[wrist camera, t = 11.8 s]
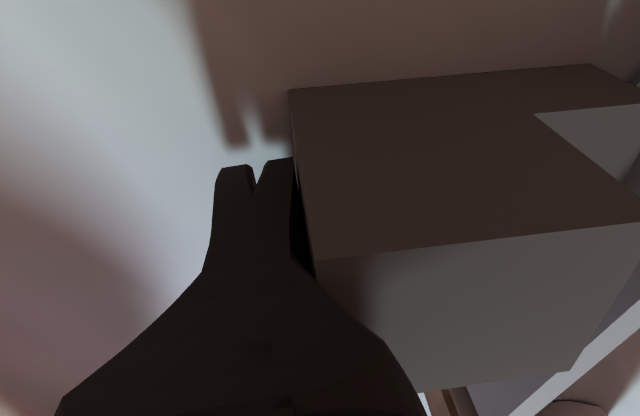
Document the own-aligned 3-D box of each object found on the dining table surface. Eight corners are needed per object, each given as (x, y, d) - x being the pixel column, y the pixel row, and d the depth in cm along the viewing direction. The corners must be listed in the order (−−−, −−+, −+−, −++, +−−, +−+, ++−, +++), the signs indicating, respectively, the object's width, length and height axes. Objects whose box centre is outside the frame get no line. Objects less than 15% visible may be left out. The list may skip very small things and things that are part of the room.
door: (464, 336, 17) (510, 435, 14) (444, 334, 17) (486, 434, 14) (840, -123, 8) (1197, -136, 5) (810, -142, 8) (1167, -169, 5)
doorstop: (299, 214, 12) (325, 407, 8) (287, 89, 10) (315, 260, 5) (544, 187, 13) (706, 350, 8) (589, 63, 11) (857, 196, 6)
